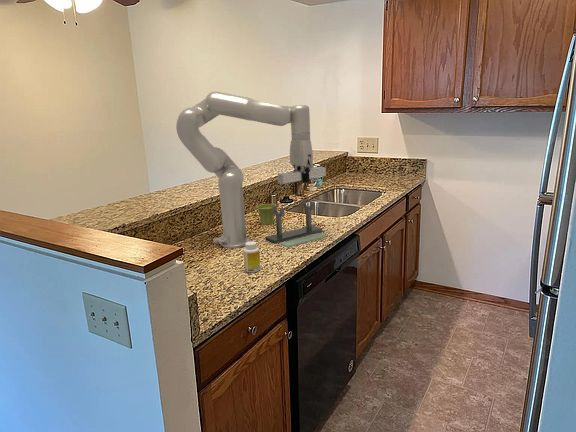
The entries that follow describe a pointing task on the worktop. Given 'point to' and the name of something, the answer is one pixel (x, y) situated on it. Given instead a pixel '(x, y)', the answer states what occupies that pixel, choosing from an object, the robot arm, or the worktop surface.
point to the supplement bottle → (251, 257)
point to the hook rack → (297, 232)
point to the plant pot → (266, 213)
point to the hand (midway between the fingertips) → (302, 181)
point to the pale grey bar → (300, 175)
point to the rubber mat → (303, 240)
